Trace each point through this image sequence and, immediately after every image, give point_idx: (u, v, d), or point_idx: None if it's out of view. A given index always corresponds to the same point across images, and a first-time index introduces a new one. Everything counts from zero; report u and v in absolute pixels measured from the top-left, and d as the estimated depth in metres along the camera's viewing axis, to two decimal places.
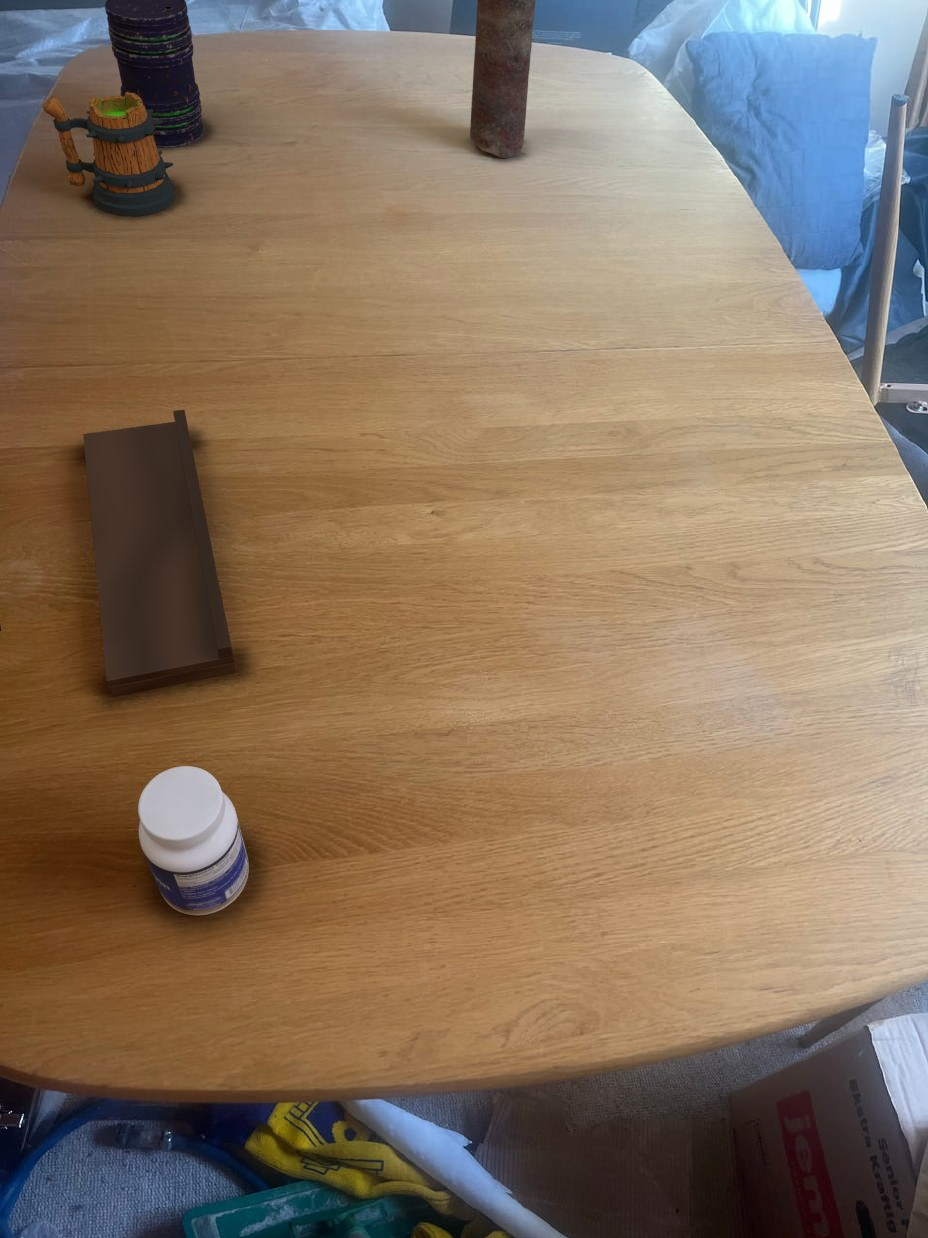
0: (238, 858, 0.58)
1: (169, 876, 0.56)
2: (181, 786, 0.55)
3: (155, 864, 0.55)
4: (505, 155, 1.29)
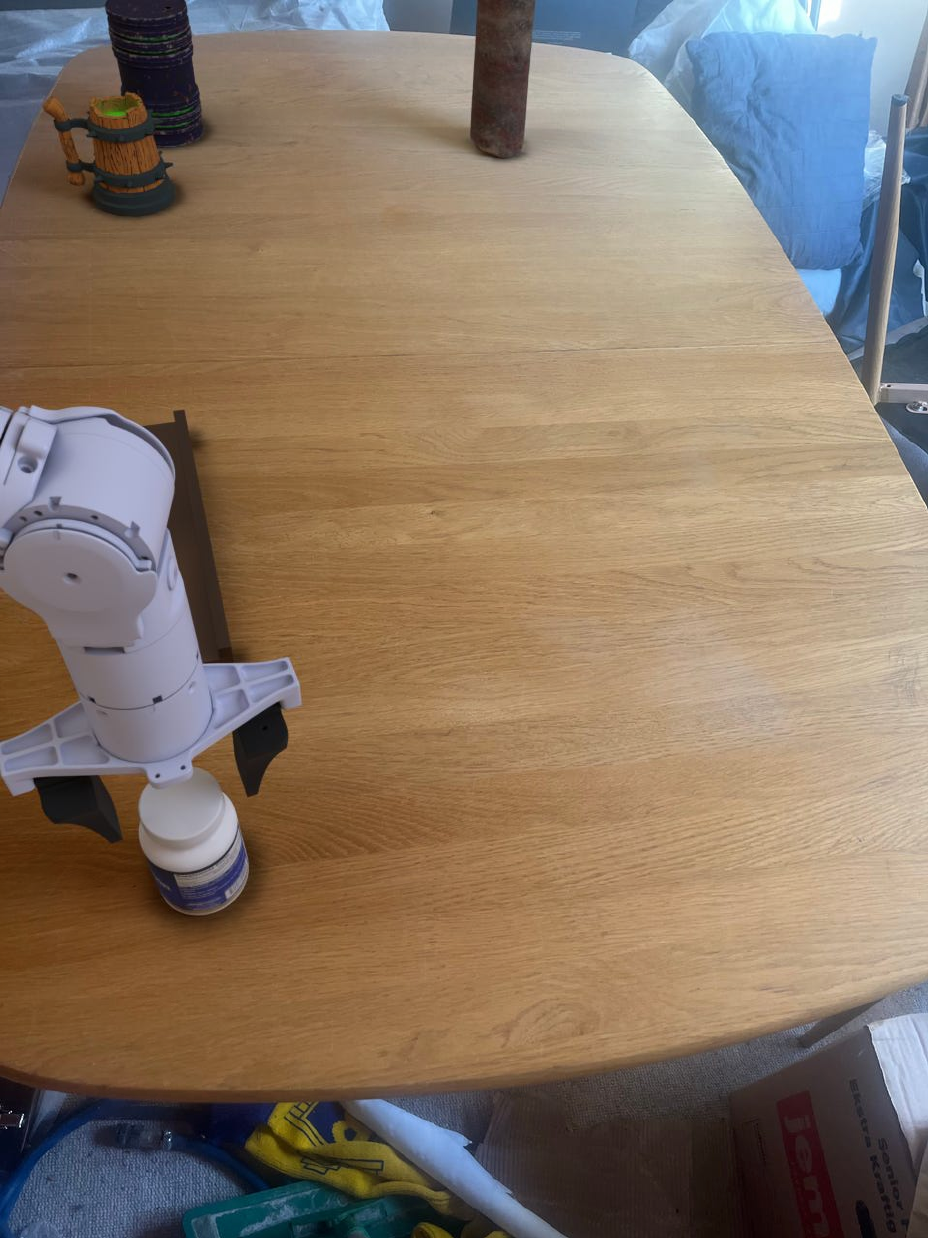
0: (238, 858, 0.58)
1: (169, 876, 0.56)
2: (181, 786, 0.55)
3: (155, 864, 0.55)
4: (505, 155, 1.29)
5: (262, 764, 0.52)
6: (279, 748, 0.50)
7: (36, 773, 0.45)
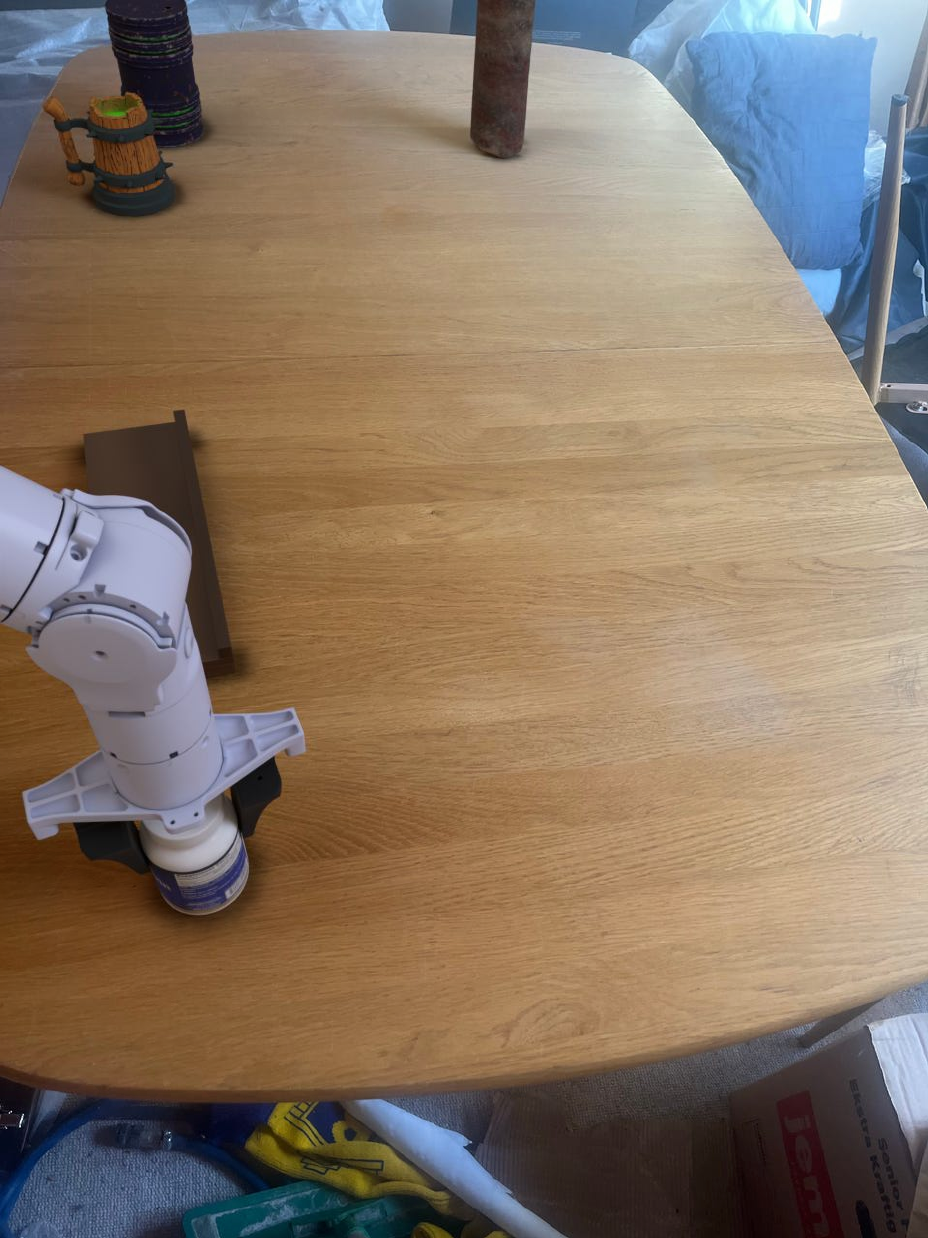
0: (238, 858, 0.58)
1: (169, 876, 0.56)
2: None
3: (155, 864, 0.55)
4: (505, 155, 1.29)
5: (257, 810, 0.55)
6: (273, 797, 0.53)
7: (60, 820, 0.49)
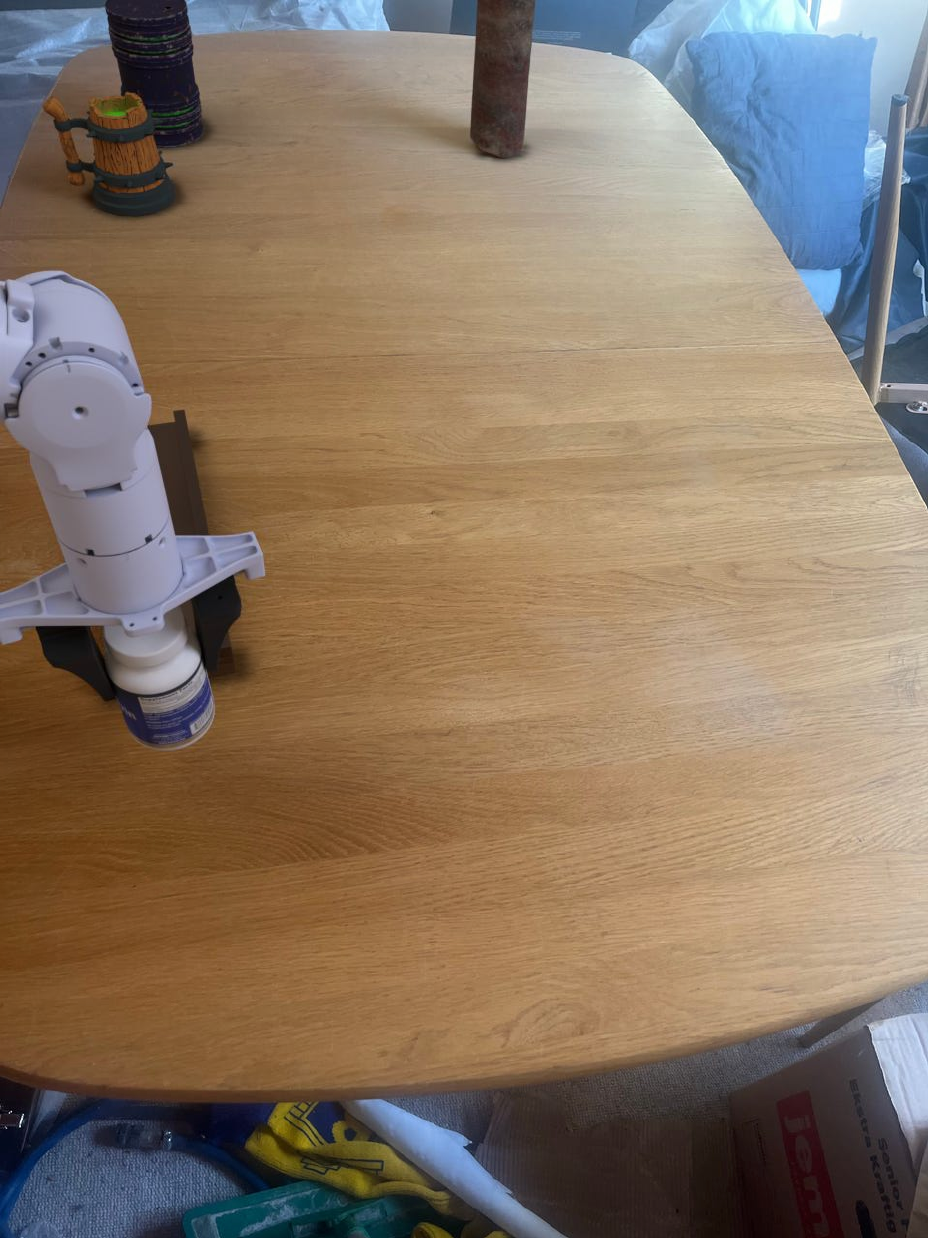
0: (202, 691, 0.60)
1: (133, 700, 0.57)
2: None
3: (120, 687, 0.57)
4: (505, 155, 1.29)
5: (218, 634, 0.57)
6: (232, 615, 0.55)
7: (23, 622, 0.51)
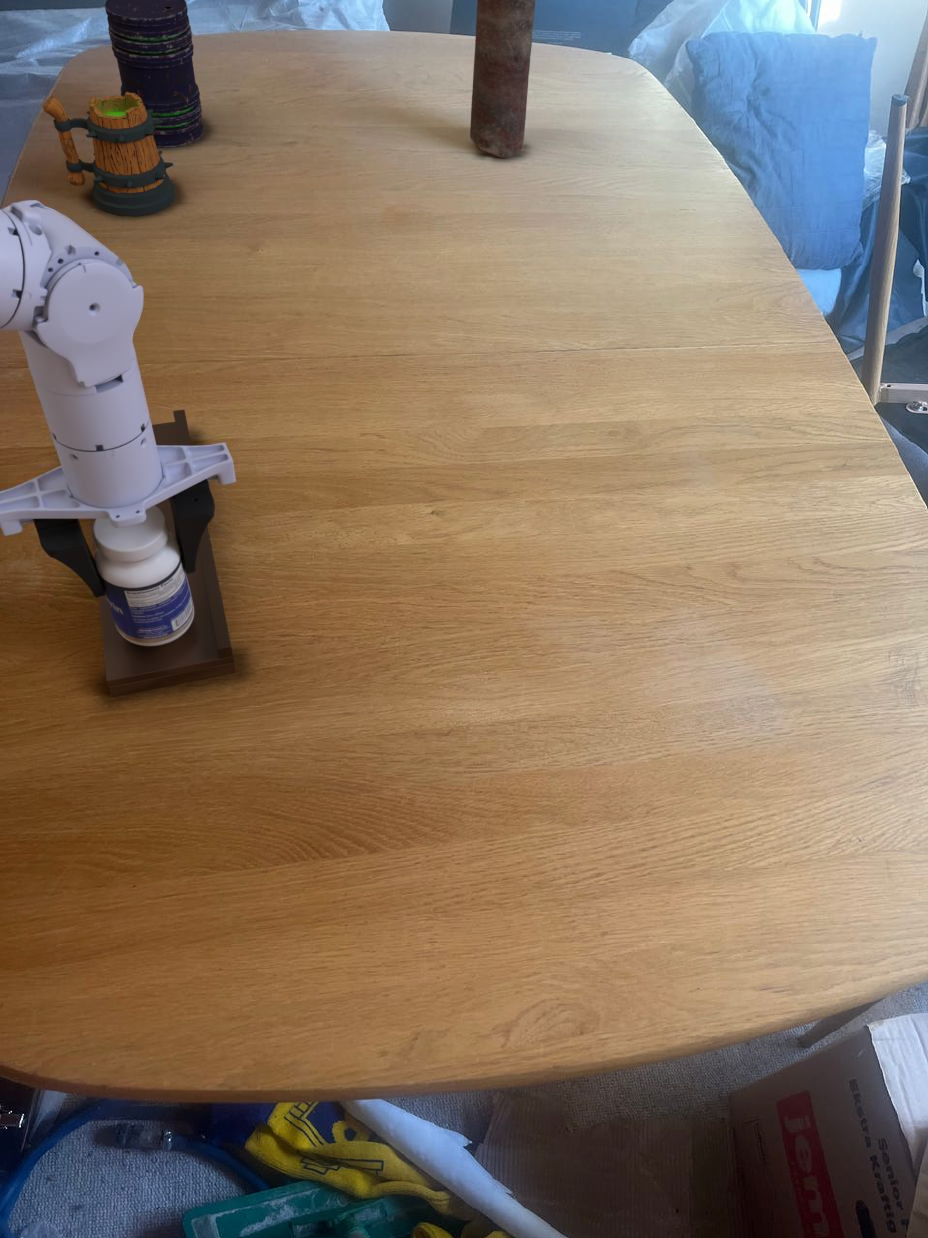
0: (182, 590, 0.68)
1: (120, 594, 0.65)
2: None
3: (108, 581, 0.64)
4: (505, 155, 1.29)
5: (194, 534, 0.64)
6: (206, 514, 0.62)
7: (22, 514, 0.58)
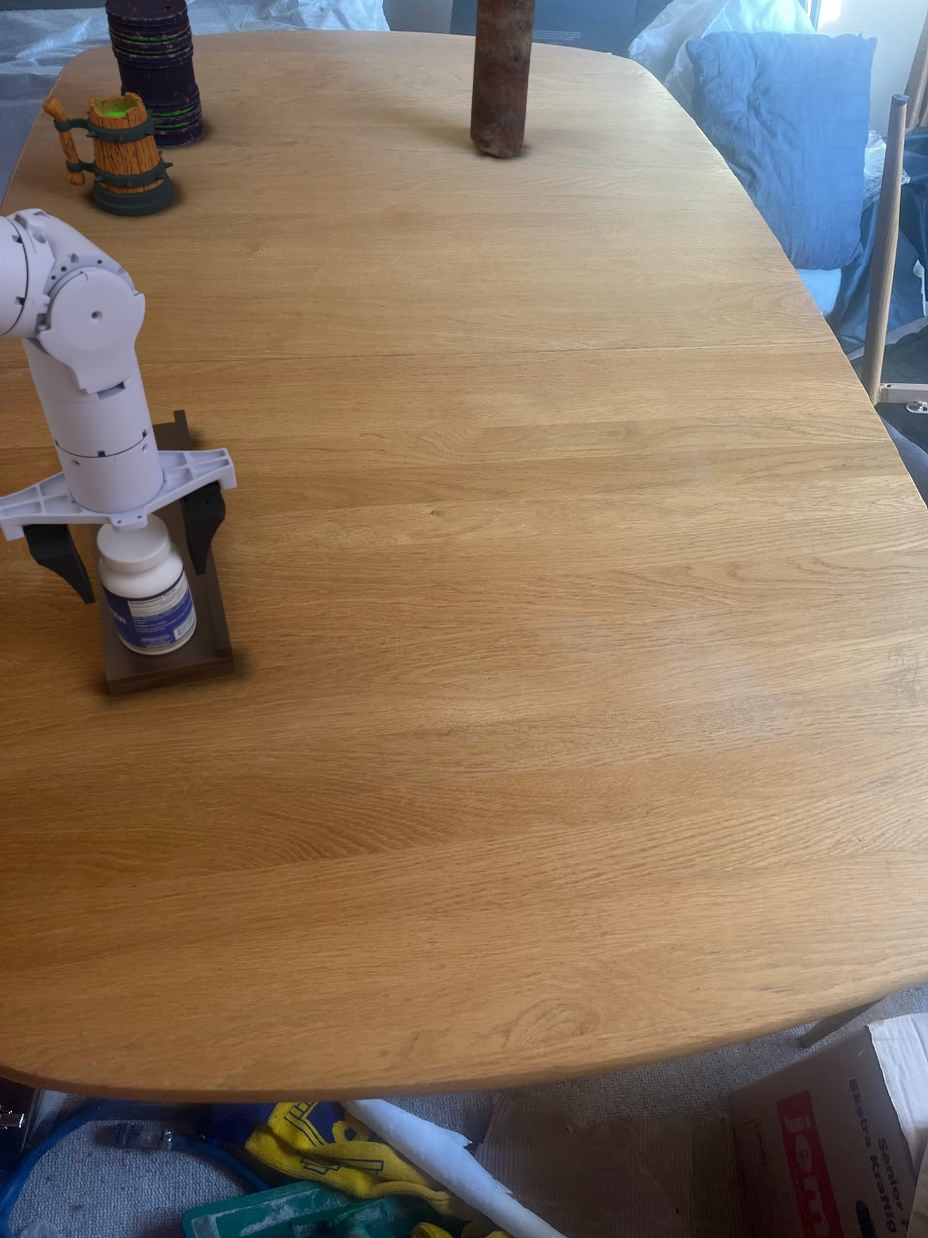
0: (184, 599, 0.68)
1: (123, 604, 0.66)
2: None
3: (111, 592, 0.65)
4: (505, 155, 1.29)
5: (206, 537, 0.65)
6: (218, 517, 0.63)
7: (25, 519, 0.59)
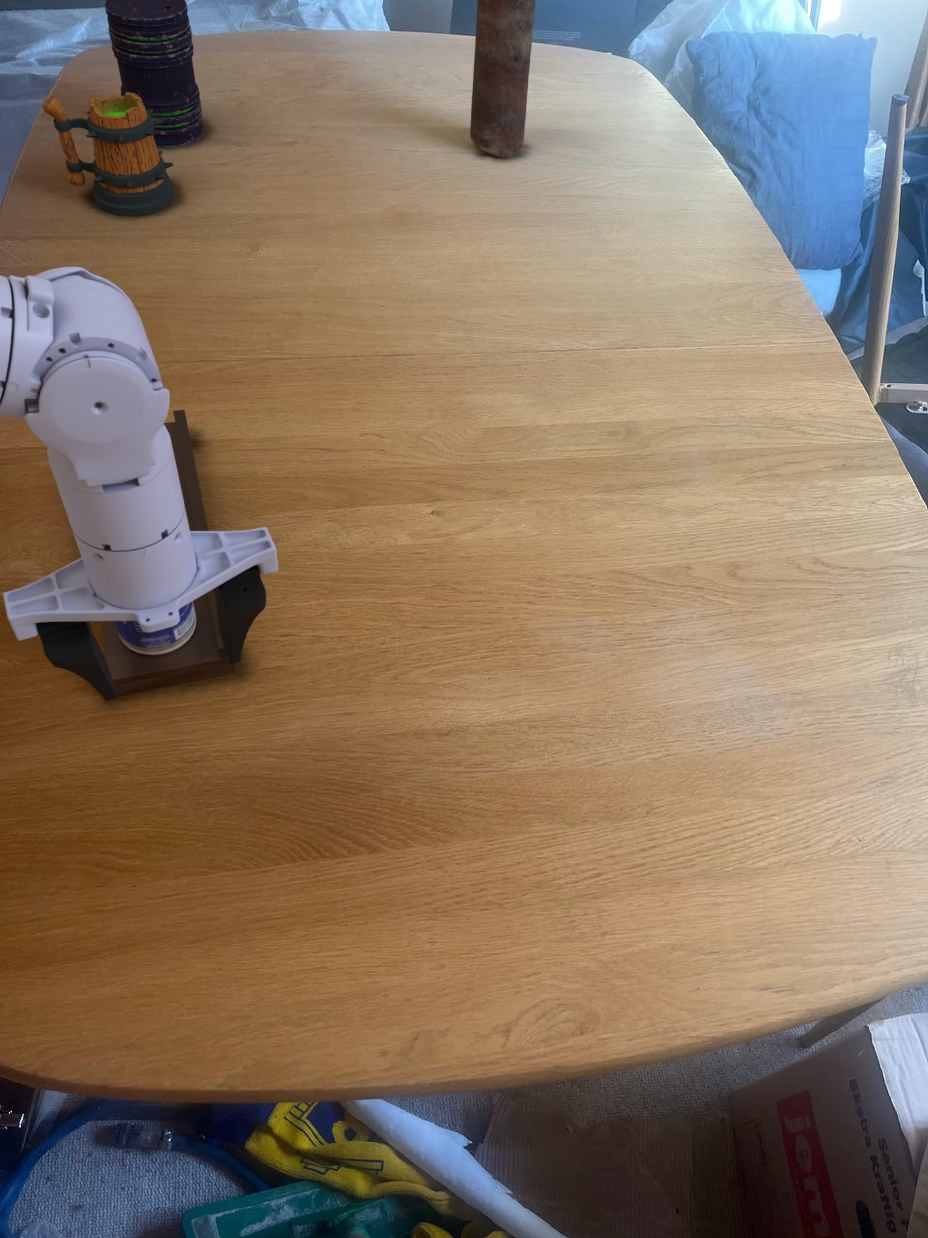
0: None
1: None
2: None
3: None
4: (505, 155, 1.29)
5: (242, 626, 0.57)
6: (258, 607, 0.55)
7: (39, 617, 0.51)
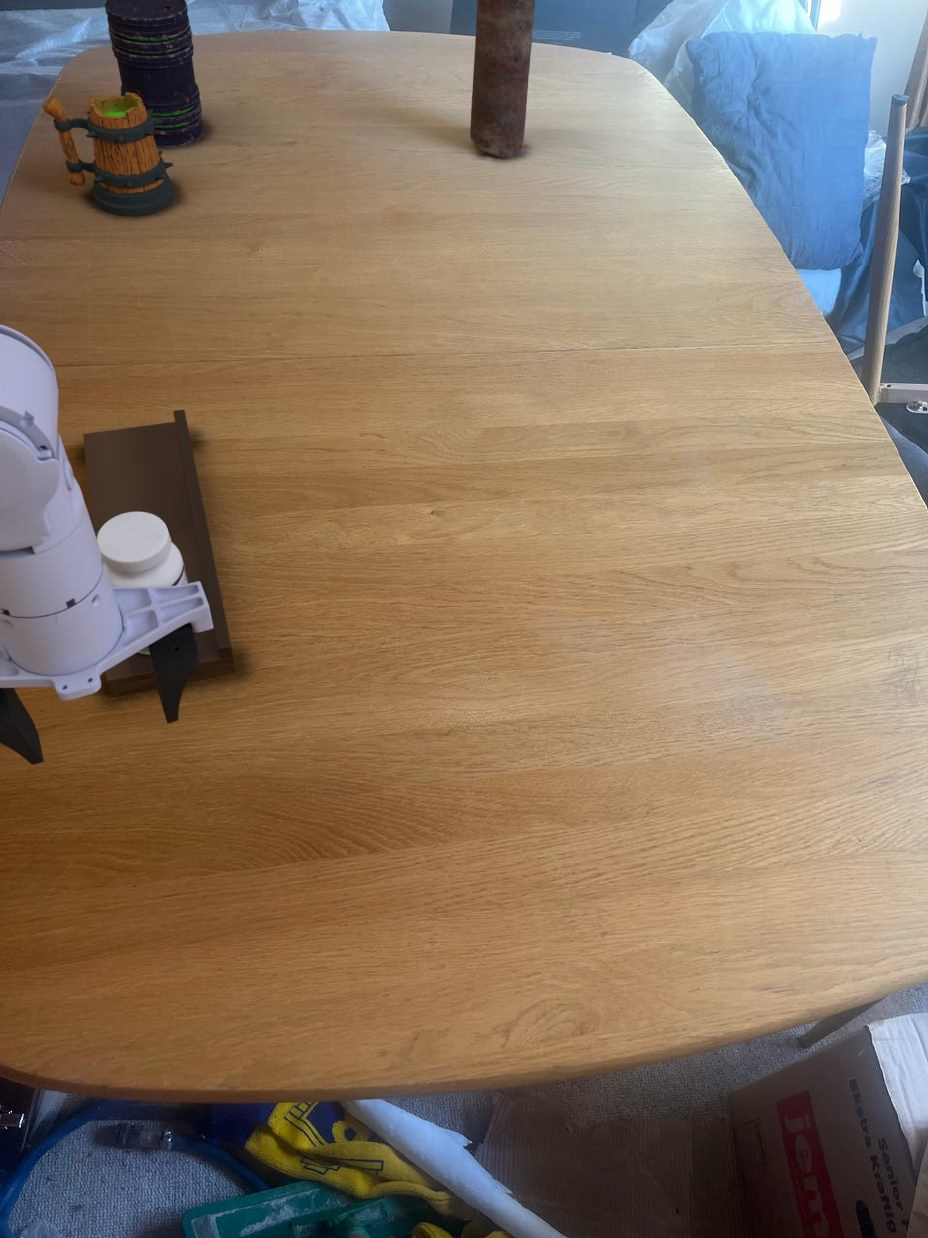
0: None
1: None
2: (133, 525, 0.65)
3: None
4: (505, 155, 1.29)
5: (176, 686, 0.53)
6: (189, 668, 0.51)
7: None
